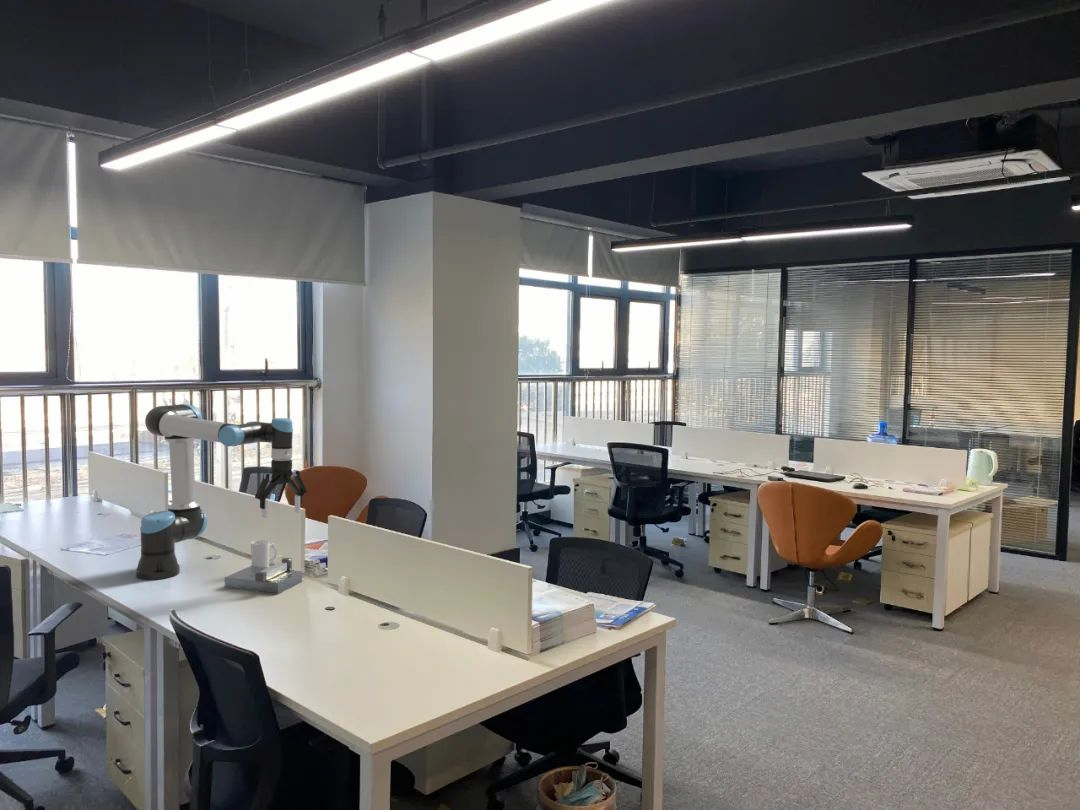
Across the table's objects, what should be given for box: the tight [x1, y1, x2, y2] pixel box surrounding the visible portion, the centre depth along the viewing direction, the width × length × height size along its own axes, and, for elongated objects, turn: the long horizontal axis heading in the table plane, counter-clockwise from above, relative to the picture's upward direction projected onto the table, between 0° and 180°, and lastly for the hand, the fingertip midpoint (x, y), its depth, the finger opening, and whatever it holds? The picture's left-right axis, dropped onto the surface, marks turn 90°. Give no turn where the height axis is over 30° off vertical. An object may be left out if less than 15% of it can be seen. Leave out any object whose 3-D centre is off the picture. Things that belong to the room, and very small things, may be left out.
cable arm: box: [255, 557, 293, 582], centre depth 286 cm, size 19×4×4 cm, turn 166°
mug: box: [250, 539, 278, 568], centre depth 305 cm, size 10×7×12 cm, turn 133°
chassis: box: [224, 565, 303, 595], centre depth 288 cm, size 22×16×4 cm
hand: (281, 514), depth 293 cm, fingers open, 13 cm apart
